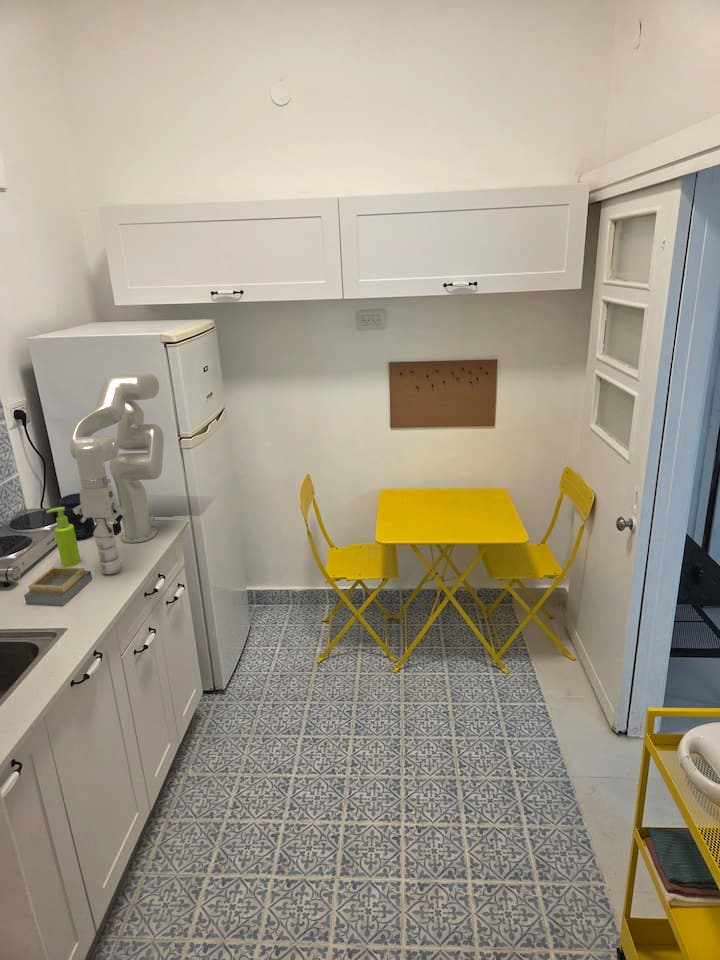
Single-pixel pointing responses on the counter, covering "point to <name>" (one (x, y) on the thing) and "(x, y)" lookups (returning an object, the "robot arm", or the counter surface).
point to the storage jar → (69, 504)
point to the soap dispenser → (66, 539)
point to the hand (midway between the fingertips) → (103, 533)
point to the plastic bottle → (106, 546)
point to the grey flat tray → (57, 586)
